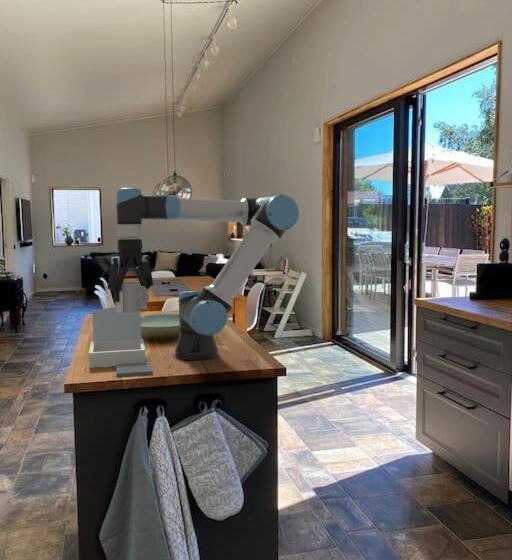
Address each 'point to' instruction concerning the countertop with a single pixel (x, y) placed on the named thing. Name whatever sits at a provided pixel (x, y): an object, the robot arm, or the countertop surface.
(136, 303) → the cup
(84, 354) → the countertop surface
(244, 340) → the countertop surface
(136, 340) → the cold frame
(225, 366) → the countertop surface
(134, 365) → the slate tile
